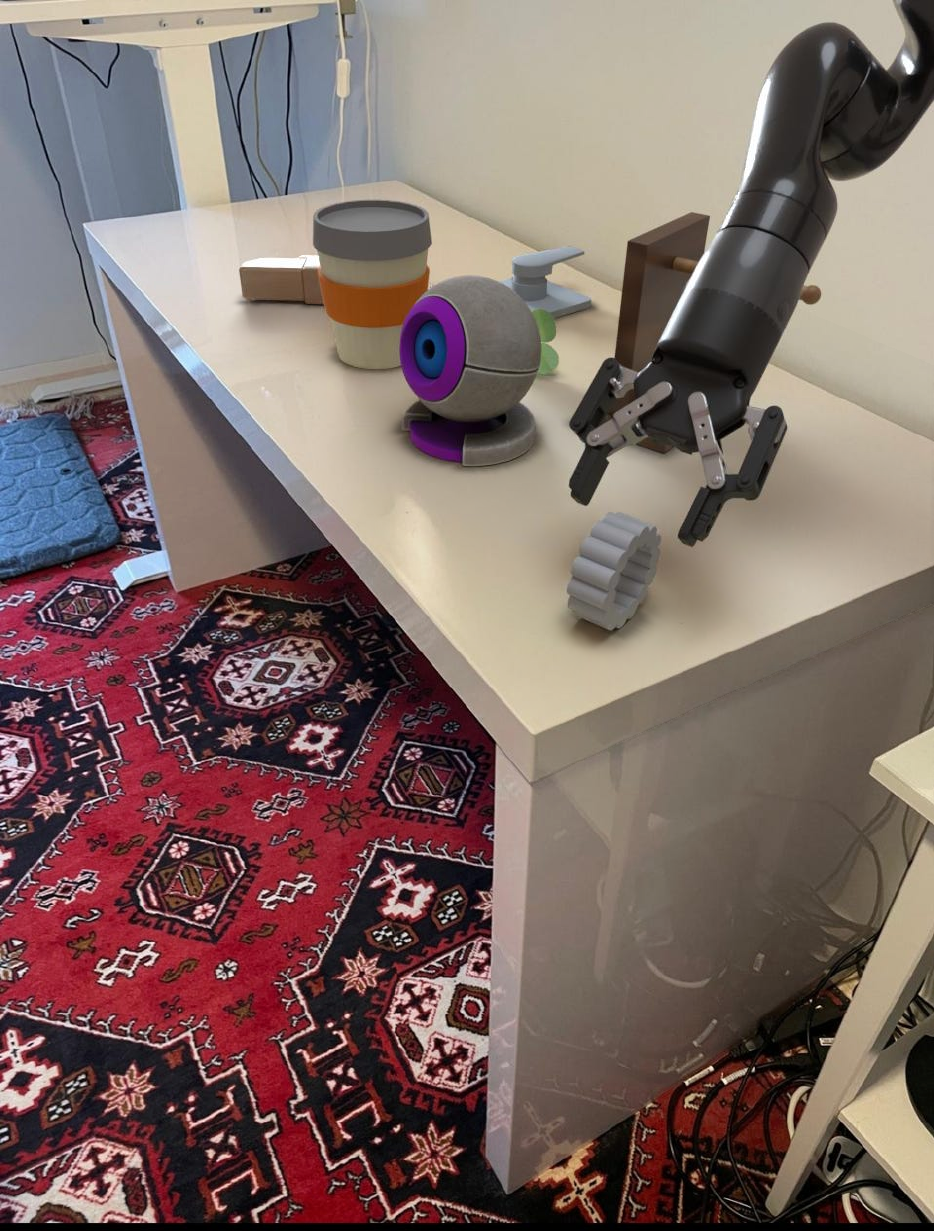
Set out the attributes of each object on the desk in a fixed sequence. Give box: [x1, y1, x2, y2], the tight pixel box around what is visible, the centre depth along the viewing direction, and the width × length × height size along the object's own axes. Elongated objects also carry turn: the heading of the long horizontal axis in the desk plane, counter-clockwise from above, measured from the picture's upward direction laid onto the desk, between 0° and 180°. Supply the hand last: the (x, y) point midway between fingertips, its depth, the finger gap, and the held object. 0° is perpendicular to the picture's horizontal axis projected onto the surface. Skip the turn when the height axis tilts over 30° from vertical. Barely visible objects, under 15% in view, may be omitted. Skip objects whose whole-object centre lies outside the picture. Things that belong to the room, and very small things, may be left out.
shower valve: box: [497, 245, 592, 319], centre depth 121 cm, size 12×6×15 cm
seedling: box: [532, 309, 560, 376], centre depth 107 cm, size 7×8×7 cm
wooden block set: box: [238, 255, 324, 305], centre depth 125 cm, size 17×6×18 cm
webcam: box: [399, 274, 542, 467], centre depth 88 cm, size 13×13×15 cm
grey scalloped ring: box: [566, 511, 662, 631], centre depth 68 cm, size 3×8×8 cm, turn 142°
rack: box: [603, 211, 822, 454], centre depth 89 cm, size 19×14×18 cm
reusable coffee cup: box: [312, 199, 433, 370], centre depth 104 cm, size 13×13×15 cm
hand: (629, 521), depth 67 cm, fingers open, 8 cm apart
